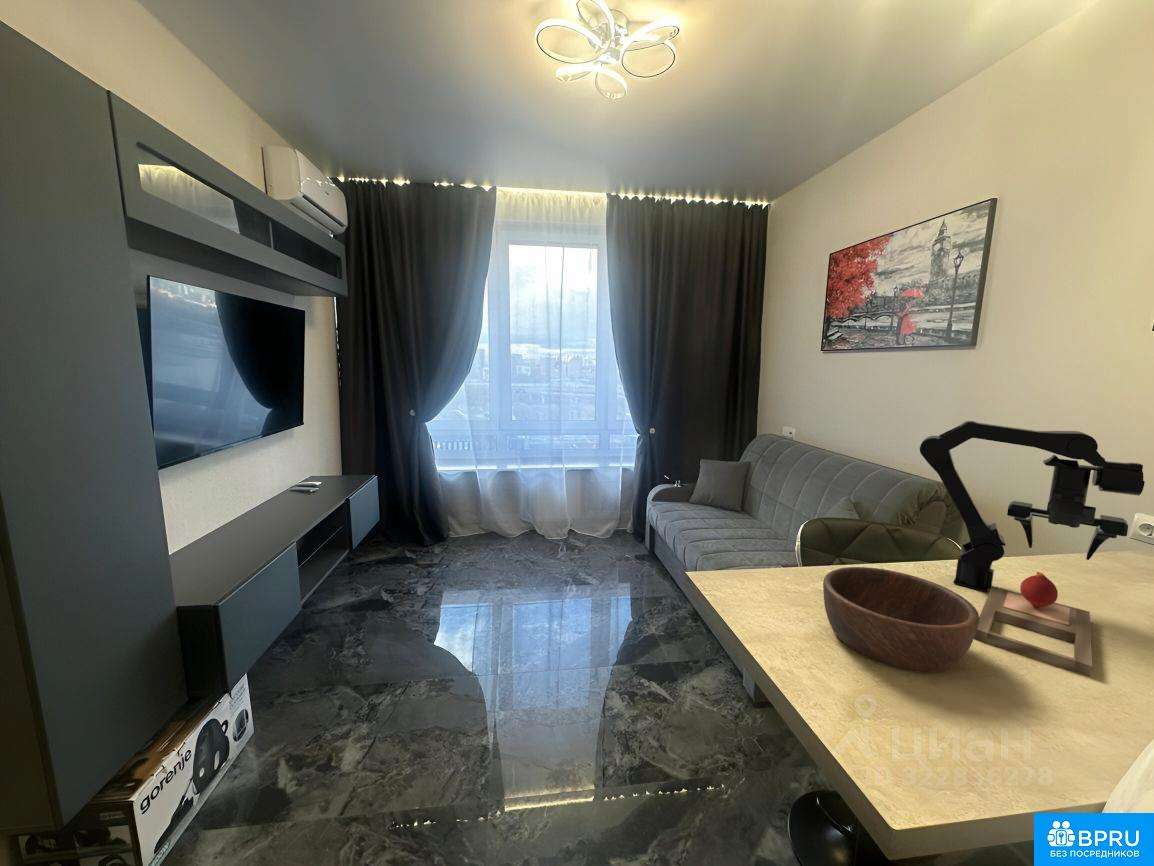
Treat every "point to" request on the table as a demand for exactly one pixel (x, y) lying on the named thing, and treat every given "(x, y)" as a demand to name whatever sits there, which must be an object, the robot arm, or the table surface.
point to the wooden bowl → (899, 618)
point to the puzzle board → (1038, 628)
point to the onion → (1039, 590)
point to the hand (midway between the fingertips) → (1058, 553)
